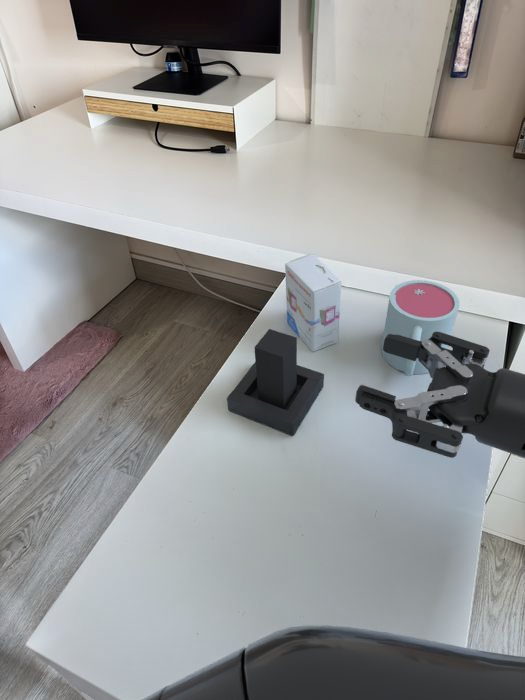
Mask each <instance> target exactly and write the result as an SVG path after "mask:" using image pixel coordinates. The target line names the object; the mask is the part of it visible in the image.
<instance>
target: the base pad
mask: <svg viewBox="0 0 525 700" xmlns="http://www.w3.org/2000/svg"><path fill="white" fill-rule="evenodd" d="M324 379H325V374H324V373H322V372H319V371H317V370H313V369H310V368H307V367H305V366H301V365H299V364H297V391H296V392H295V394H294V396H293V397H292V399H291V400H290V402H289V403H288V405H287V406H286V408H285V409H282V408H279V407H276V406H274V405H271V404H268V403H266V402H263V401H261V400H258V387H257V374H256V361H254V363H253V364H252V365H251V366H250V368H249V369H248V370H247V371H246V373H245V374H244V375H243V376H242V378H241V379H240V380H239V382H238V383H237V384H236V386H235V387H234V388H233V390H232V391H231V392H230V393H229V395H228V396H227V397H226V403H227V408H228V412H231V413H233V414H236V415H238V416H240V417H243V418H245V419H249V420H251V421H254V422H255V423H258V424H261V425H262V426H265V427H268V428H271V429H273V430H275V431H278V432H280V433H283V434H286V435H288V436H291V437H294V436H295V435H296V433H297V431H298V430H299V428H300V427H301V425H302V423H303V421H304V420H305V418H306V417H307V414H308V413H309V411H310V410H311V408H312V406H313V405H314V403H315V402H316V400H317V398H318V396H319V395H320V393H321V391H322V390H323V388H324V385H325V384H324V382H325V380H324Z"/></svg>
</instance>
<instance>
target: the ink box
mask: <svg viewBox="0 0 525 700" xmlns="http://www.w3.org/2000/svg"><path fill="white" fill-rule="evenodd" d="M284 270H285V272H284V273H285V275H284V276H285V297H286V299H285V300H286V301H285V302H286V322H287V324H288V325H289V326H290V327H291V328H292V330H293V331H294V332H295V333H296V334H297V336H299V337H300V338H301V340H302V341H303V342H304V343H305V344H306V346H307V347H308V348H309V349H310V350H311V351H312V352H316V351H319V350H321V349H325V348H327V347H329V346H331V345H334V344H337V343H338V342H339V336H340V335H339V333H340V314H341V313H340V312H341V295H342V280H341V278H340V277H339V276H338V275H337V274H335V272H333V271H332V270H331V268H329V267H328V266H327V265H326V264H325V263H324V262H323V261H321V259H319V258H318V256H317V255H316V254H311V253H308V254H306V255H303V256H300V257H298V258H294V259H292V260H290V261H286V262H285V263H284Z"/></svg>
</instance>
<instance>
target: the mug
mask: <svg viewBox="0 0 525 700" xmlns="http://www.w3.org/2000/svg"><path fill="white" fill-rule="evenodd" d="M459 308H460V299H459V297H458V296H457V294H456V293H455V292H454V291H453V290H451V288H449V287H447V286H446V285H443V284H442V283H439V282H436V281H431V280H425V279H415V280H407V281H404V282H403V281H402V282H401V283H399V284H397V285H396V286H394V287H393V288H392V289H391V291H390V293H389V297H388V303H387V311H386V316H385V317H386V318H385V323H384V330H383V336H382V342H381V348H380V349H381V350H380V351H381V355H382V357H383V359H384V361H385V362H386V363H387V364H388V365H390V367H392V368H394V369H395V370H398V371H400V372H403V373H404V375H405V376H406V377H412V376H413V375H424V374H429V371H428V370H427V369H426V368H425V367H424V366H423V365H422V364H421V363H420V362H419V361H418V358H417V359H416V361H412V360H409V359H405V358H402V357H399V356H396V355H392V354H389V353H386V352H385V351H384V350H383V345H384V340H385V338H386V336H387V335H388V334H393V335H401V336H403V337H407V338H411V339H415V340H418V341H423V340H428V339H429V338H431V337H432V334H433V332H441V333H445V334H448V335H451V336H452V334H453V331H454V327H455V324H456V323H455V322H456V319H457V317H458V312H459ZM441 347H443V348H446V349H449V346H448V345H445V344H442V345H441ZM431 358H432V357H431Z"/></svg>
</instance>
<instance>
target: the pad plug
mask: <svg viewBox="0 0 525 700" xmlns="http://www.w3.org/2000/svg"><path fill="white" fill-rule="evenodd" d="M254 358H255V359H254V360H255V361H256V374H257V387H258V400H261V401H263V402H266V403H268V404H271V405H274V406H276V407H279V408H282V409H285V408H286V406H287V405H288V403H289V402H290V400H291V399H292V397H293V396H294V394H295V392H296V391H297V365H298V338H297V336H293V335H290V334H287V333H284V332H281V331H278V330H274V329H271V328H269V329H267V331H266V332H265V333H264V335H263V336H262V337H261V338H260V339H259V341H258V342H257V343H256V344H255V346H254ZM255 361H254V362H255Z"/></svg>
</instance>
